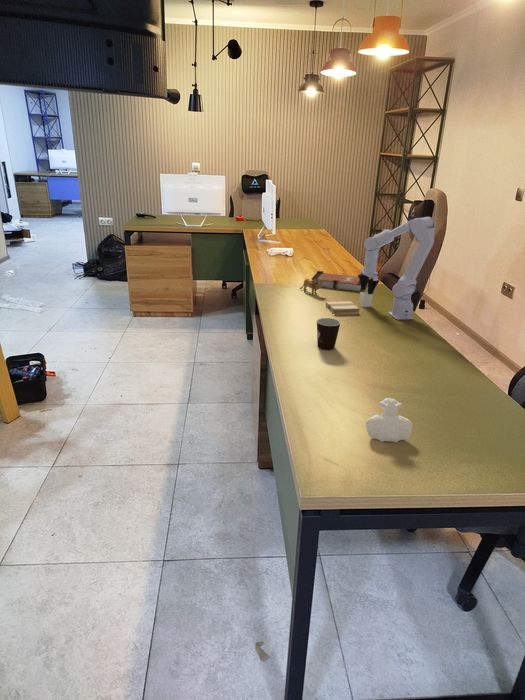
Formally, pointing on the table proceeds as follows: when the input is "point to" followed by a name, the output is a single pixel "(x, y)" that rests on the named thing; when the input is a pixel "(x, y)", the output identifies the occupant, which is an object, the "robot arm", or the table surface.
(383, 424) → the bust
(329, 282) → the book
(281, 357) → the table surface
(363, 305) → the white block
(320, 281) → the lion figurine
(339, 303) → the oak block
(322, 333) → the coffee mug
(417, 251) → the robot arm
